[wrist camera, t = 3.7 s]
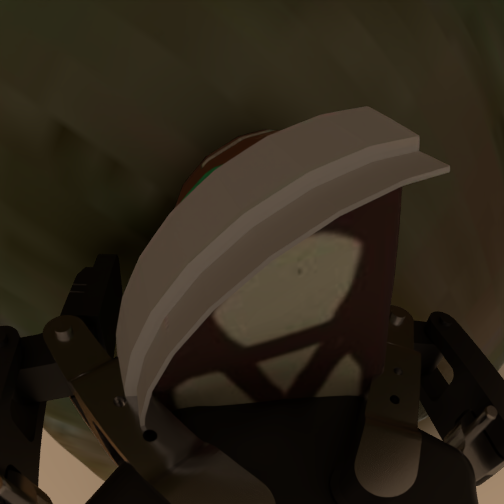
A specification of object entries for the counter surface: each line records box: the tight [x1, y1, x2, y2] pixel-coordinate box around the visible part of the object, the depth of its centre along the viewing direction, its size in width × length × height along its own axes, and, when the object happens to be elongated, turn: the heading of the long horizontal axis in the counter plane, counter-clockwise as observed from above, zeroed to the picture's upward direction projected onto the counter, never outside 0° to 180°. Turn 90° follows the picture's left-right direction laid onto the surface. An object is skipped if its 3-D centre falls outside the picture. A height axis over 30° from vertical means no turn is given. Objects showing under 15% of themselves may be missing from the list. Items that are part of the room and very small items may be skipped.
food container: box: [116, 106, 450, 426], centre depth 10 cm, size 12×6×10 cm, turn 9°
